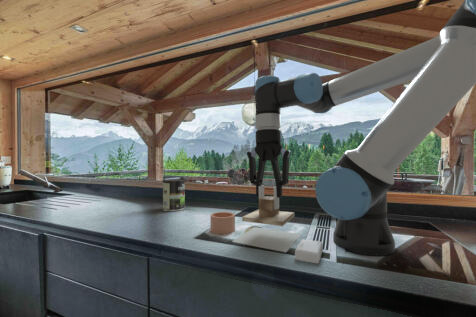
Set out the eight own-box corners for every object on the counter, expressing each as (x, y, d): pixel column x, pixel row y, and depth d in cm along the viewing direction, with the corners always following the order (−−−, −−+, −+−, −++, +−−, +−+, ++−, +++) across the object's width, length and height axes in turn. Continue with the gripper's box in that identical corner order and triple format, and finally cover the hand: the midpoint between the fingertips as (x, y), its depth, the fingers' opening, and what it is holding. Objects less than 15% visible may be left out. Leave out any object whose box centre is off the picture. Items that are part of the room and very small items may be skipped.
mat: (301, 235, 73) (301, 234, 73) (286, 253, 59) (286, 252, 59) (254, 228, 81) (254, 227, 81) (231, 243, 67) (231, 241, 67)
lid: (294, 216, 72) (294, 196, 72) (282, 226, 62) (282, 202, 62) (258, 212, 78) (258, 194, 78) (242, 221, 67) (241, 199, 67)
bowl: (239, 229, 79) (239, 213, 79) (226, 236, 72) (226, 218, 72) (219, 226, 83) (219, 211, 83) (205, 232, 76) (205, 215, 76)
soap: (318, 266, 53) (318, 253, 53) (294, 262, 55) (294, 249, 55) (322, 252, 61) (322, 240, 61) (301, 249, 63) (301, 237, 63)
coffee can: (188, 207, 116) (188, 179, 116) (179, 212, 106) (179, 181, 106) (169, 206, 118) (169, 178, 118) (158, 211, 108) (158, 180, 108)
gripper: (299, 129, 69) (300, 207, 69) (247, 133, 77) (248, 203, 77) (292, 125, 63) (294, 213, 62) (237, 130, 71) (238, 207, 70)
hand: (269, 207), depth 70 cm, fingers closed on lid, 4 cm apart
